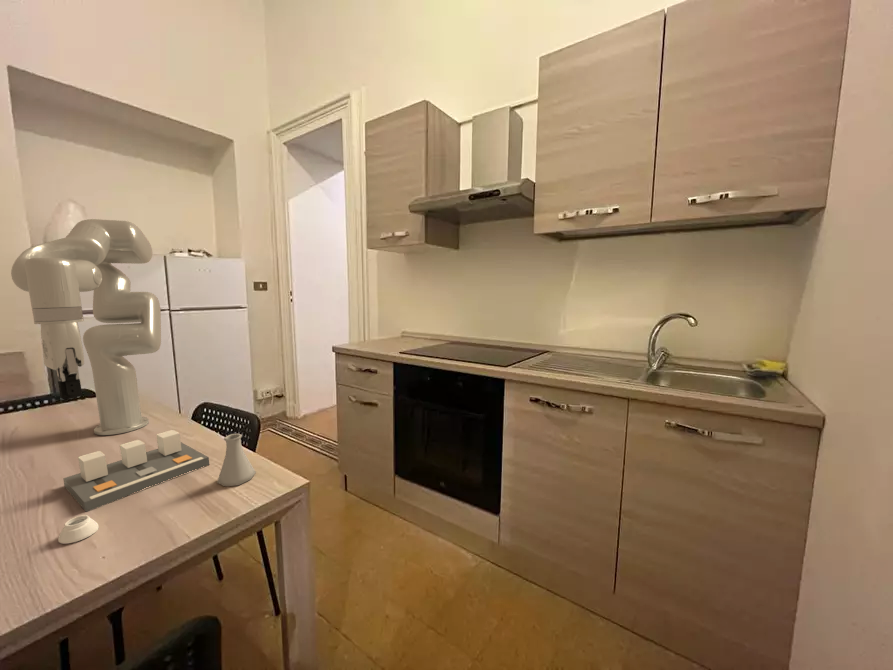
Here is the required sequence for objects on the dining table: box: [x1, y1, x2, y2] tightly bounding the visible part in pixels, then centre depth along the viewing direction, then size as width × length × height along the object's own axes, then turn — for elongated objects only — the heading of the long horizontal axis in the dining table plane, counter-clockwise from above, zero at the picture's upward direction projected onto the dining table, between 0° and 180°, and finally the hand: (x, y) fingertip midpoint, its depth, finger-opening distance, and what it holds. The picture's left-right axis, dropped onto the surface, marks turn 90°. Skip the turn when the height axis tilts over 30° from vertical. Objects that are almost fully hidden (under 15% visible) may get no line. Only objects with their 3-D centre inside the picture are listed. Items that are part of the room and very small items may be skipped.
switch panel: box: [63, 441, 210, 512], centre depth 85 cm, size 16×22×2 cm
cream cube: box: [155, 429, 182, 456], centre depth 92 cm, size 4×4×4 cm
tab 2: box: [119, 439, 147, 468], centre depth 86 cm, size 4×4×4 cm
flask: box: [216, 433, 257, 487], centre depth 83 cm, size 7×7×10 cm
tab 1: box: [77, 450, 108, 482], centre depth 80 cm, size 4×4×4 cm
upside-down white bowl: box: [57, 514, 100, 545], centre depth 65 cm, size 5×3×5 cm
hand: (71, 397), depth 83 cm, fingers closed
